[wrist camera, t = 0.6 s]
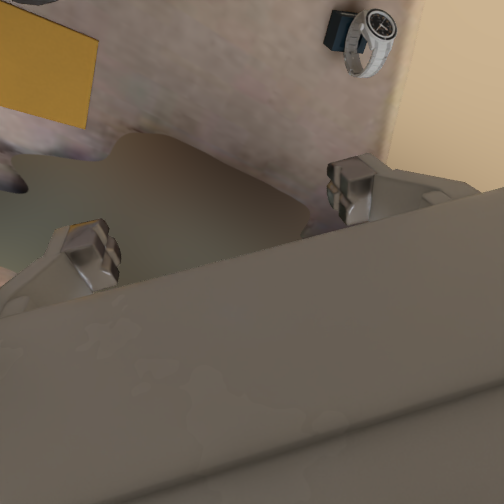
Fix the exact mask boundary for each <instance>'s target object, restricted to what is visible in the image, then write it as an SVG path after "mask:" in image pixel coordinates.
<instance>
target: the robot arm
mask: <svg viewBox="0 0 504 504" xmlns="http://www.w3.org/2000/svg"><path fill="white" fill-rule="evenodd" d="M327 176H328V177H329V178H330V179H331V180H330V182H329V183H328V185H327V196H328V200H329V203H330V205H331V206H332V208H333V209H334V210H337V211H339V217H340V218H341V219H342V220H343V222H344V223H345V224H346V225H351V224H356V223H360V222H364V221H369V222H368V223H364V224H360V225H356V226H352V227H348V228H345V229H341V230H337V231H333V232H329V233H325V234H322V235H318V236H314V237H310V238H306V239H302V240H298V241H295V242H291V243H287V244H283V245H279V246H276V247H272V248H268V249H264V250H260V251H257V252H252V253H248V254H245V255H241V256H237V257H233V258H229V259H225V260H221V261H218V262H214V263H210V264H206V265H202V266H198V267H195V268H191V269H187V270H183V271H179V272H176V273H171V274H168V275H164V276H160V277H156V278H152V279H148V280H144V281H140V282H137V283H133V284H129V285H125V286H121V287H117V288H114V289H110V290H106V291H102V292H99V293H94V294H93V292H95V291H98V290H102V289H105V288H108V287H112V286H116V285H117V284H118V278H119V270H118V268H117V267H118V266H119V264H120V263H121V252H120V248H119V246H118V243H117V242H116V240H115V238H113V237H111V236H109V235H108V233H109V227H108V225H107V224H106V222H105V221H104V220H103V219H96V220H92V221H87V222H83V223H79V224H74V225H69V226H65V227H61V228H58V229H55V231H54V233H53V235H52V238H51V240H50V242H49V245H48V247H47V249H46V251H45V253H44V256H43V257H41V258H38V259H37V260H35V261H34V262H33V263H31V264H30V265H29V266H28V267H26V268H25V269H24V270H22V271H21V272H20V273H18V274H17V275H16V276H15V277H13V278H12V279H11V280H9V281H8V282H7V283H6V284H4V285H3V286H2V287H0V504H504V187H503V188H499V189H495V190H491V191H487V192H483V193H481V192H480V191H478V190H476V189H475V188H473V187H471V186H470V185H468V184H467V183H465V182H461V181H455V180H450V179H445V178H440V177H435V176H430V175H424V174H419V173H414V172H409V171H403V170H398V169H396V170H392V169H390V168H389V167H388V166H387V165H385V164H384V163H383V162H381V161H380V160H379V159H377V158H376V157H375V156H374V155H372V154H371V153H365V154H362V155H358V156H354V157H350V158H347V159H343V160H339V161H335V162H332V163H329V164H328V167H327Z"/></svg>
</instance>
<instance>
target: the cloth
mask: <svg viewBox="0 0 504 504" xmlns="http://www.w3.org/2000/svg"><path fill="white" fill-rule="evenodd" d="M98 42H99V41H98V40H96V39H94V38H91V37H89V36H86V35H84V34H81V33H79V32H77V31H74V30H72V29H69V28H67V27H64V26H62V25H60V24H57V23H55V22H52V21H50V20H47V19H45V18H43V17H40V16H38V15H35V14H33V13H30V12H28V11H26V10H23V9H21V8H18V7H16V6H14V5H11V4H9V3H6V2H4V1H1V0H0V106H2V107H6V108H9V109H13V110H17V111H20V112H24V113H27V114H31V115H35V116H38V117H42V118H46V119H49V120H53V121H56V122H60V123H64V124H67V125H71V126H75V127H78V128H82V129H85V127H86V121H87V114H88V108H89V101H90V94H91V88H92V81H93V75H94V68H95V62H96V55H97V48H98Z"/></svg>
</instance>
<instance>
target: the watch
mask: <svg viewBox="0 0 504 504" xmlns="http://www.w3.org/2000/svg"><path fill="white" fill-rule="evenodd" d="M396 35H397V26H396V23H395V21H394V20H393V18H392V17H391V16H390V15H389V14H388V13H386V12H385V11H383V10H381V9H370V10H363V11H361V12H360V13H352V12H345V11H337V10H332V14H331V18H330V21H329V25H328V28H327V32H326V35H325V39H324V43H323V44H324V45H326V46H327V47H328V48H329V49H330V50H331V51H340V52H344V53H343V55H344V61H345V65H346V68H347V71H348V73H349V75H352V76H353V77H361V78H369V77H372V76H373V75H375V74H376V73H377V72H378V71H379V70H380V69H381V67H382V66H383V64H384V62H385V61H386V58H387V56H388V53H389V52H390V51H391V49H392V45H393V41H394V38H395V37H396ZM367 42H368V45H369V49H370V50H373V52H372V56H371V57H370V60H369V63H368V64H367V66H366V68H364V70H363V68H362V65H361V62H360V58H359V53H362V54H363V52H364V49H365V46H366V43H367Z"/></svg>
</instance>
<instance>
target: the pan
mask: <svg viewBox="0 0 504 504" xmlns="http://www.w3.org/2000/svg"><path fill="white" fill-rule="evenodd" d="M12 1H14V2H17V3H21V4H30V5H38V6H39V5H43V4H47V3H51V2H55V1H58V0H12Z"/></svg>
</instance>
